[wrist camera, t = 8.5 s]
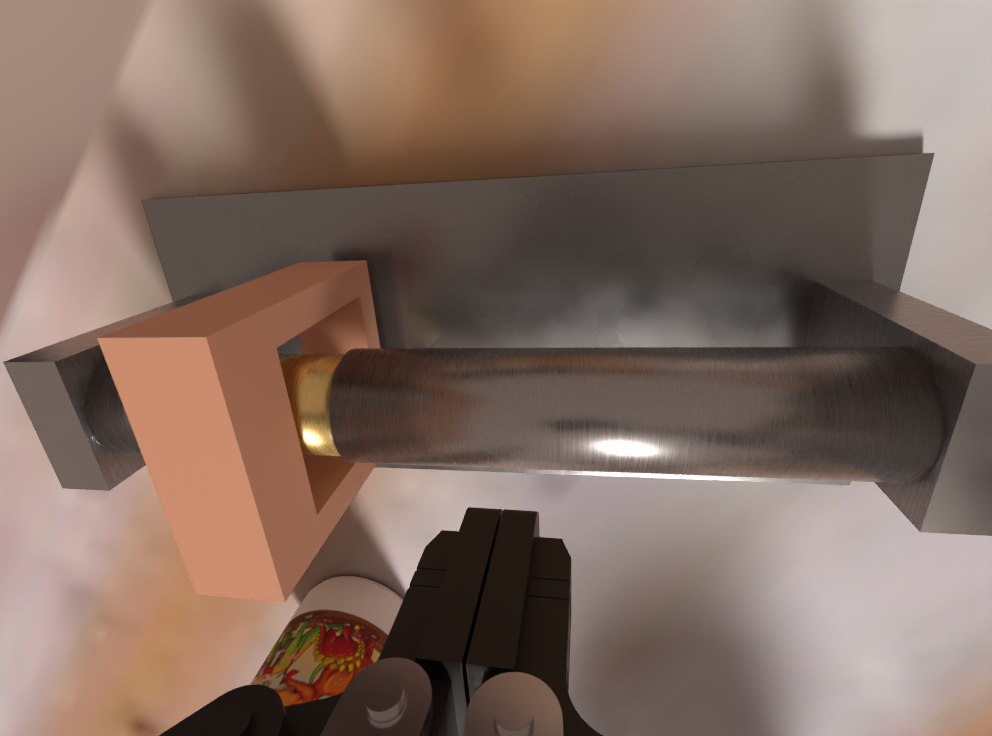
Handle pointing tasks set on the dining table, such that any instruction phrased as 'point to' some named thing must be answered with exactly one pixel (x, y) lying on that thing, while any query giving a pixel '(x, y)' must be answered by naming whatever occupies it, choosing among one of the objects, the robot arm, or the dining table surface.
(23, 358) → the rail
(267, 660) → the milk bottle
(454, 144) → the dining table surface
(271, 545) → the collar
